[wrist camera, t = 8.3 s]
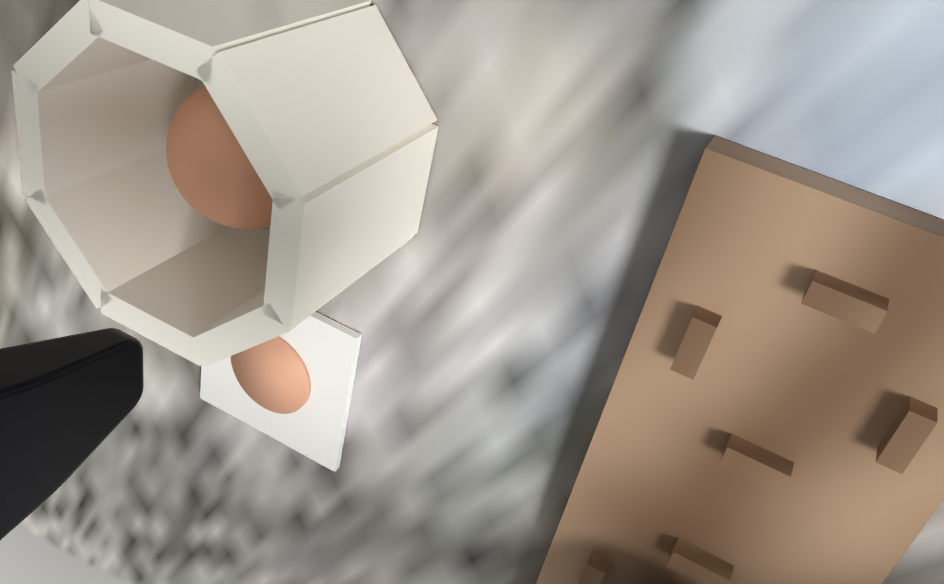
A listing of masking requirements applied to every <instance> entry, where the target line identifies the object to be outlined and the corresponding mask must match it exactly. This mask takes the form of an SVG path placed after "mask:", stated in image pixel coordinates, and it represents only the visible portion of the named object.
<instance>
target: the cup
mask: <svg viewBox="0 0 944 584" xmlns="http://www.w3.org/2000/svg"><path fill="white" fill-rule="evenodd" d="M370 2H371V0H80V1H79V2H78V3H77V4H76V5H75V6H74V7H73V8H72V9H70V10H69V11H68V12H67V13H66V14H65V15H64V16H63V17H62V18H61V19H60V20H59V21H58V22H57V23H56V24H55V25H54V26H53V27H52V28H51V29H50V30H49V31H48V32H47V33H46V34H45V35H44V36H43V37H42V38H41V39H40V40H39V41H38V42H37V43H36V44H35V45H34V46H32V47H31V48H30V49H29V50H28V51H27V52H26V53H25V54H24V55H23V56H22V57H21V58H20V59H19V60H18V61H17V62H16V63H15V64H14V65H13V67H14V69H15V70H14V71H11V74H12V85H13V96H14V106H15V117H16V128H17V138H18V149H19V159H20V170H21V181H22V191H23V194H24V195H26V196H28V198H27V199H25V200H26V202H27V204H28V205H29V207H30V208H31V210H32V211H33V213H34V214H35V216H36V217H37V219H38V220H39V222H40V223H41V225H42V226H43V228H44V229H45V231H46V232H47V234H48V235H49V237H50V238H51V240H52V242H53V243H54V245H55V246H56V248H57V249H58V251H59V252H60V254H61V255H62V257H63V258H64V260H65V261H66V263H67V264H68V266H69V267H70V269H71V270H72V272H73V273H74V275H75V276H76V278H77V280H78V281H79V283H80V284H81V286H82V287H83V289H84V290H85V292H86V293H87V295H88V296H89V298H90V299H91V301H92V302H93V304H94V305H95V307H96V308H97V309H98V308H100V307H101V313H102V314H104V315H105V316H107V317H109V318H111V319H113V320H115V321H117V322H118V323H120V324H122V325H124V326H126V327H128V328H130V329H132V330H133V331H135V332H137V333H139V334H141V335H143V336H145V337H146V338H148V339H150V340H152V341H154V342H156V343H158V344H160V345H161V346H163V347H165V348H167V349H169V350H171V351H173V352H175V353H176V354H178V355H180V356H182V357H184V358H186V359H188V360H189V361H191V362H193V363H195V364H197V365H199V366H201V365H202V364H203V365H204V366H208V365H210V364H213V363H215V362H218V361H220V360H222V359H225V358H227V357H230V356H232V355H234V354H237V353H239V352H242V351H244V350H247V349H249V348H251V347H254V346H256V345H259V344H261V343H264V342H266V341H268V340H271V339H273V338H276V337H278V336H280V335H283V334H285V333H288V332H289V331H290V330H292V329H293V328H294V327H296V326H297V325H298V324H300V323H301V322H302V321H304V320H305V319H306V318H308V317H309V316H310V315H312V314H313V313H314V312H315V311H317V310H318V309H319V308H321V307H322V306H323V305H325V304H326V303H327V302H329V301H330V300H331V299H333V298H334V297H335V296H337V295H338V294H339V293H340V292H342V291H343V290H344V289H346V288H347V287H348V286H350V285H351V284H352V283H354V282H355V281H356V280H358V279H359V278H360V277H361V276H363V275H364V274H365V273H367V272H368V271H369V270H371V269H372V268H373V267H375V266H376V265H377V264H379V263H380V262H381V261H383V260H384V259H385V258H386V257H388V256H389V255H390V254H392V253H393V252H394V251H396V250H397V249H398V248H400V247H401V246H402V245H404V244H405V243H406V242H408V241H409V240H410V239H411V238H413V237H414V236H415V234H416V233H417V232H418V228H419V223H420V218H421V213H422V208H423V203H424V198H425V193H426V188H427V183H428V178H429V173H430V168H431V163H432V158H433V153H434V147H435V142H436V137H437V132H438V127H439V126H437V125H434V124H432V123H433V122H435V121H437V118H436V116H435V114H434V112H433V110H432V109H431V107H430V105H429V103H428V101H427V99H426V97H425V96H424V94H423V92H422V90H421V88H420V86H419V85H418V83H417V81H416V79H415V77H414V75H413V73H412V72H411V70H410V68H409V66H408V64H407V62H406V60H405V59H404V57H403V55H402V53H401V51H400V49H399V47H398V46H397V44H396V42H395V40H394V38H393V36H392V34H391V33H390V31H389V29H388V27H387V25H386V23H385V21H384V20H383V18H382V16H381V14H380V12H379V10H378V8H377V7H376V5H373V6H370ZM203 85H205V86H206V88H207V90H208V92H209V93H210V95H211V97H212V98H213V100H214V102H215V103H216V105H217V107H218V108H219V110H220V112H221V113H222V115H223V117H224V118H225V120H226V122H227V124H228V125H229V127H230V129H231V130H232V132H233V134H234V135H235V137H236V139H237V140H238V142H239V144H240V145H241V147H242V149H243V151H244V152H245V154H246V156H247V157H248V159H249V161H250V162H251V164H252V166H253V167H254V169H255V171H256V172H257V174H258V176H259V177H260V179H261V181H262V183H263V184H264V186H265V188H266V189H267V191H268V193H269V194H270V196H271V198H272V199H273V203H272V214H271V226H268V227H264V228H258V229H239V228H232V227H228V226H224V225H221V224H219V223H216V222H214V221H212V220H210V219H208V218H206V217H205V216H203V215H202V214H200V213H199V212H197V211H196V210H195V209H194V208H193V207H191V206H190V205H189V204H188V202H187V201H186V200H185V199H184V198H183V196H182V195H181V194H180V192H179V191H178V189H177V187H176V185H175V183H174V181H173V179H172V177H171V174H170V171H169V167H168V163H167V153H166V144H167V136H168V131H169V127H170V124H171V122H172V119H173V117H174V115H175V114H176V112H177V110H178V108H179V107H180V106H181V104H182V103H183V102H184V101H185V99H186V98H187V97H188V96H189V95H190V94H192V93H193V92H194V91H195V90H197V89H198V88H199V87H201V86H203Z"/></svg>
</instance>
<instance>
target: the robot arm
mask: <svg viewBox="0 0 944 584" xmlns="http://www.w3.org/2000/svg"><path fill="white" fill-rule="evenodd" d="M142 392H143V347H142V345H141V343H140V341H138V340H137V339H136V338H134V337H132V336H130V335H128V334H126V333H124V332H123V331H121V330H118V329H114V328H109V329H102V330H97V331H92V332H86V333H81V334H76V335H70V336H65V337H60V338H55V339H49V340H44V341H39V342H33V343H28V344H23V345H18V346H12V347H7V348H2V349H0V540H1V539H2V538H3V537H4V536H6V535H7V534H8V533H9V532H10V531H11V530H12V529H14V528H15V527H16V526H17V525H18V524H19V523H20V522H22V521H23V520H24V519H25V518H26V517H27V516H28V515H30V514H31V513H32V512H33V511H34V510H35V509H36V508H37V507H39V506H40V505H41V504H42V503H43V502H44V501H45V500H46V499H47V498H48V497H49V496H51V495H52V494H53V493H54V492H55V491H56V490H57V489H58V488H59V487H60V486H61V485H62V484H63V483H64V482H65V481H66V480H67V479H68V478H69V477H70V476H71V475H72V474H73V472H74V471H75V470H76V469H77V468H78V467H79V466H80V465H81V464H82V463H83V462H84V461H85V460H86V458H87V457H88V456H89V455H90V454H91V453H92V452H93V451H94V450H95V449H96V448H97V447H98V446H99V445H100V443H101V442H102V441H103V440H104V439H105V438H106V437H107V436H108V435H109V434H110V433H111V432H112V431H113V430H114V428H115V427H116V426H117V425H118V424H119V423H120V422H121V421H122V420H123V419H124V418H125V417H126V416H127V415H128V413H129V412H130V411H131V410H132V409H133V408H134V407H135V406H136V404H137V403H138V401H139V399H140V397H141V395H142Z"/></svg>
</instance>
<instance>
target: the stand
mask: <svg viewBox="0 0 944 584" xmlns="http://www.w3.org/2000/svg"><path fill="white" fill-rule="evenodd" d="M943 500H944V220H943V219H940V218H937V217H934V216H932V215H929V214H926V213H924V212H921V211H918V210H915V209H913V208H910V207H907V206H905V205H902V204H899V203H896V202H894V201H891V200H888V199H886V198H883V197H880V196H877V195H875V194H872V193H869V192H867V191H864V190H861V189H859V188H856V187H853V186H850V185H848V184H845V183H842V182H840V181H837V180H834V179H831V178H829V177H826V176H823V175H821V174H818V173H815V172H812V171H810V170H807V169H804V168H802V167H799V166H796V165H793V164H791V163H788V162H785V161H783V160H780V159H777V158H774V157H772V156H769V155H766V154H764V153H761V152H758V151H756V150H753V149H750V148H747V147H745V146H742V145H739V144H737V143H734V142H731V141H728V140H726V139H723V138H720V137H718V136H714V137H713V139H712V140H711V141H710V143H709V144H708V145H707V147H706V148H705V150H704V153H703V155H702V158H701V160H700V163H699V166H698V168H697V171H696V173H695V176H694V178H693V181H692V184H691V186H690V189H689V191H688V194H687V196H686V199H685V202H684V204H683V207H682V209H681V212H680V214H679V217H678V220H677V222H676V225H675V227H674V230H673V232H672V235H671V238H670V240H669V243H668V245H667V248H666V250H665V253H664V255H663V258H662V261H661V263H660V266H659V268H658V271H657V273H656V276H655V279H654V281H653V284H652V286H651V289H650V291H649V294H648V297H647V299H646V302H645V304H644V307H643V309H642V312H641V315H640V317H639V320H638V322H637V325H636V327H635V330H634V333H633V335H632V338H631V340H630V343H629V345H628V348H627V351H626V353H625V356H624V358H623V361H622V363H621V366H620V369H619V371H618V374H617V376H616V379H615V381H614V384H613V387H612V389H611V392H610V394H609V397H608V399H607V402H606V405H605V407H604V410H603V412H602V415H601V417H600V420H599V423H598V425H597V428H596V430H595V433H594V435H593V438H592V441H591V443H590V446H589V448H588V451H587V453H586V456H585V459H584V461H583V464H582V466H581V469H580V471H579V474H578V477H577V479H576V482H575V484H574V487H573V489H572V492H571V494H570V497H569V500H568V502H567V505H566V507H565V510H564V512H563V515H562V518H561V520H560V523H559V525H558V528H557V530H556V533H555V536H554V538H553V541H552V543H551V546H550V548H549V551H548V554H547V556H546V559H545V561H544V564H543V566H542V569H541V572H540V574H539V577H538V579H537V582H536V584H882V583H883V581H884V580H885V579H886V577H887V576H888V575H889V573H890V572H891V571H892V569H893V568H894V566H895V565H896V564H897V562H898V561H899V560H900V558H901V557H902V556H903V554H904V553H905V552H906V550H907V549H908V548H909V546H910V545H911V543H912V542H913V541H914V539H915V538H916V537H917V535H918V534H919V533H920V531H921V530H922V529H923V527H924V526H925V525H926V523H927V522H928V521H929V519H930V518H931V516H932V515H933V514H934V512H935V511H936V510H937V508H938V507H939V506H940V504H941V503H942V502H943Z"/></svg>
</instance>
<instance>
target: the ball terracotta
mask: <svg viewBox="0 0 944 584" xmlns="http://www.w3.org/2000/svg"><path fill="white" fill-rule="evenodd" d="M166 153H167V163H168V167H169V171H170V174H171V177H172V179H173V181H174V183H175V185H176V187H177V189H178V191H179V192H180V194H181V195H182V196H183V198H184V199H185V200H186V201H187V202H188V204H189V205H190V206H191V207H193V208H194V209H195V210H196V211H197V212H199V213H200V214H202V215H203V216H205V217H206V218H208V219H210V220H212V221H214V222H216V223H219V224H221V225H224V226H228V227H232V228H239V229H258V228H264V227H268V226H271V214H272V203H273V199H272V198H271V196H270V194H269V193H268V191H267V189H266V188H265V186H264V184H263V183H262V181H261V179H260V177H259V176H258V174H257V172H256V171H255V169H254V167H253V166H252V164H251V162H250V161H249V159H248V157H247V156H246V154H245V152H244V151H243V149H242V147H241V145H240V144H239V142H238V140H237V139H236V137H235V135H234V134H233V132H232V130H231V129H230V127H229V125H228V124H227V122H226V120H225V118H224V117H223V115H222V113H221V112H220V110H219V108H218V107H217V105H216V103H215V102H214V100H213V98H212V97H211V95H210V93H209V92H208V90H207V88H206V86H205V85H203V86H201V87H199V88H198V89H197V90H195V91H194V92H193V93H192V94H190V95H189V96H188V97H187V98H186V99H185V101H184V102H183V103H182V104H181V106H180V107H179V108H178V110H177V112H176V114H175V115H174V117H173V119H172V122H171V124H170V127H169V131H168V136H167V144H166Z"/></svg>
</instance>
